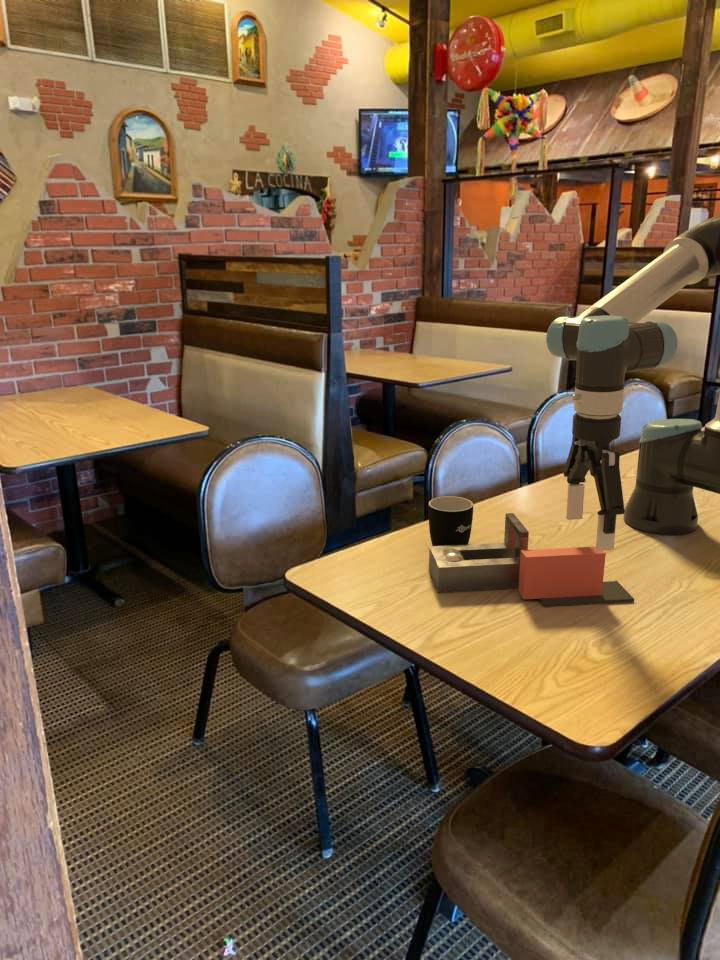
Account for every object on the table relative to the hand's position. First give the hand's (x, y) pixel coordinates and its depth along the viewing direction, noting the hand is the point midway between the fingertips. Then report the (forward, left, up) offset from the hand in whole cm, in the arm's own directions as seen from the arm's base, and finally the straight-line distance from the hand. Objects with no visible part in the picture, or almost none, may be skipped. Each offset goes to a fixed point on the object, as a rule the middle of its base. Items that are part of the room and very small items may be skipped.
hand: (588, 533), depth 124 cm
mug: (+18, -23, -12) cm, 32 cm away
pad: (0, 0, -12) cm, 12 cm away
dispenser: (+16, -8, -12) cm, 22 cm away
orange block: (+4, 0, -11) cm, 12 cm away
